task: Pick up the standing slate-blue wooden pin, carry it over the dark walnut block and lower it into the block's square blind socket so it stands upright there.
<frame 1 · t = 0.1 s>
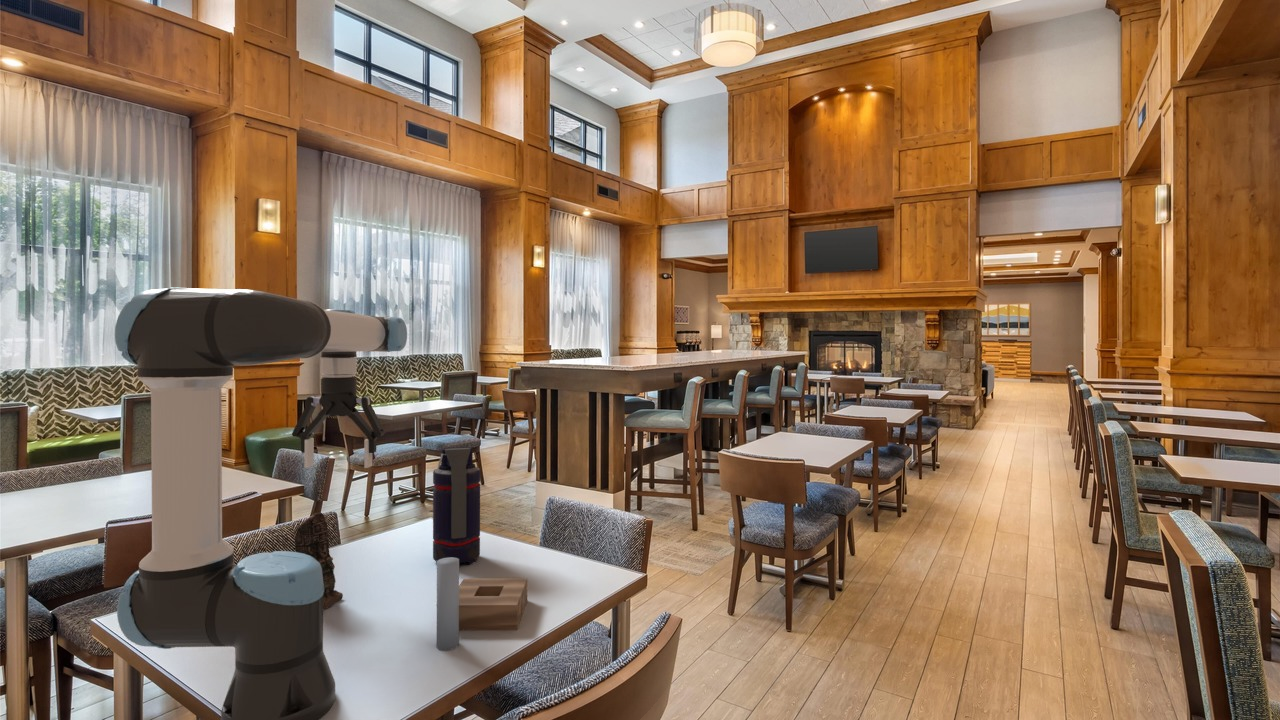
hand: (338, 467, 141), 28 cm above the table, fingers open, 13 cm apart
pin: (447, 645, 114), on the table
socket block: (488, 614, 127), on the table
grenade: (456, 562, 159), on the table
statue: (318, 604, 132), on the table
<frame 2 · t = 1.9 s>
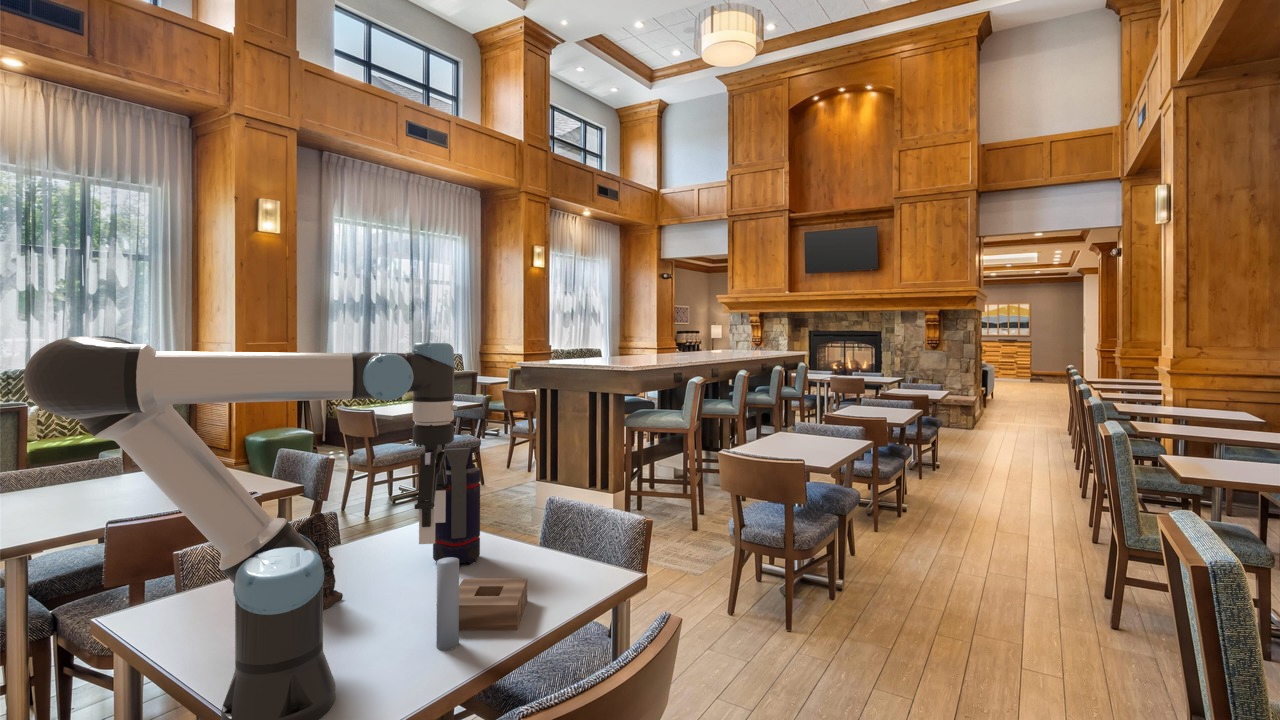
hand: (433, 532, 117), 20 cm above the table, fingers open, 13 cm apart
nothing on the table moved.
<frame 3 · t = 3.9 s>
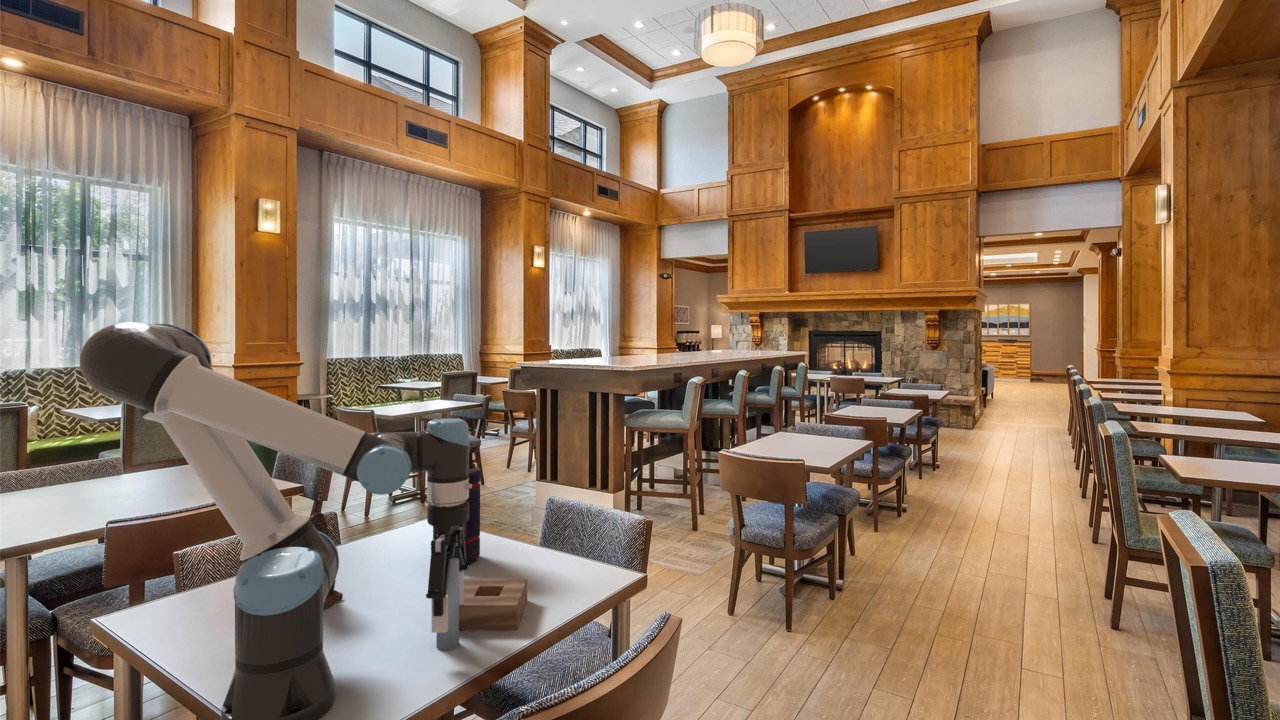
hand: (448, 617, 114), 5 cm above the table, fingers open, 11 cm apart
nothing on the table moved.
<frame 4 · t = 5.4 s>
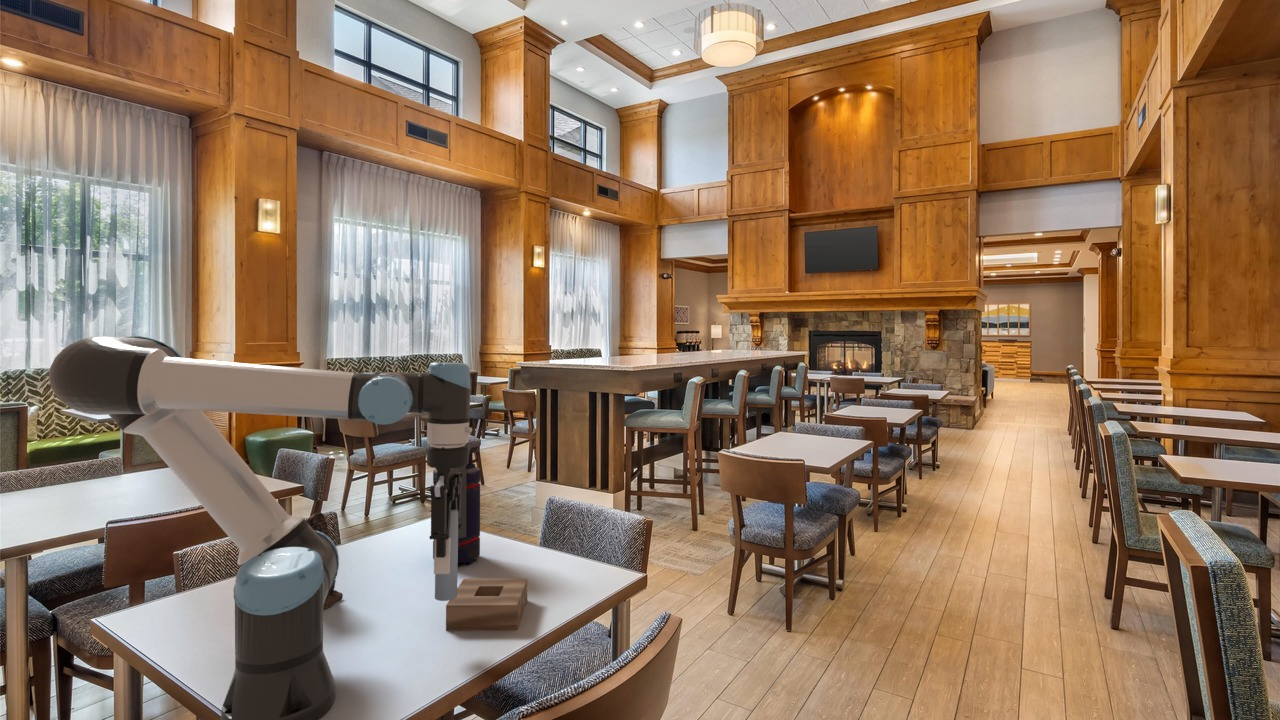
hand: (445, 568, 114), 15 cm above the table, fingers closed on pin, 4 cm apart
pin: (445, 596, 114), point 9 cm above the table, touching gripper
everything else where it was.
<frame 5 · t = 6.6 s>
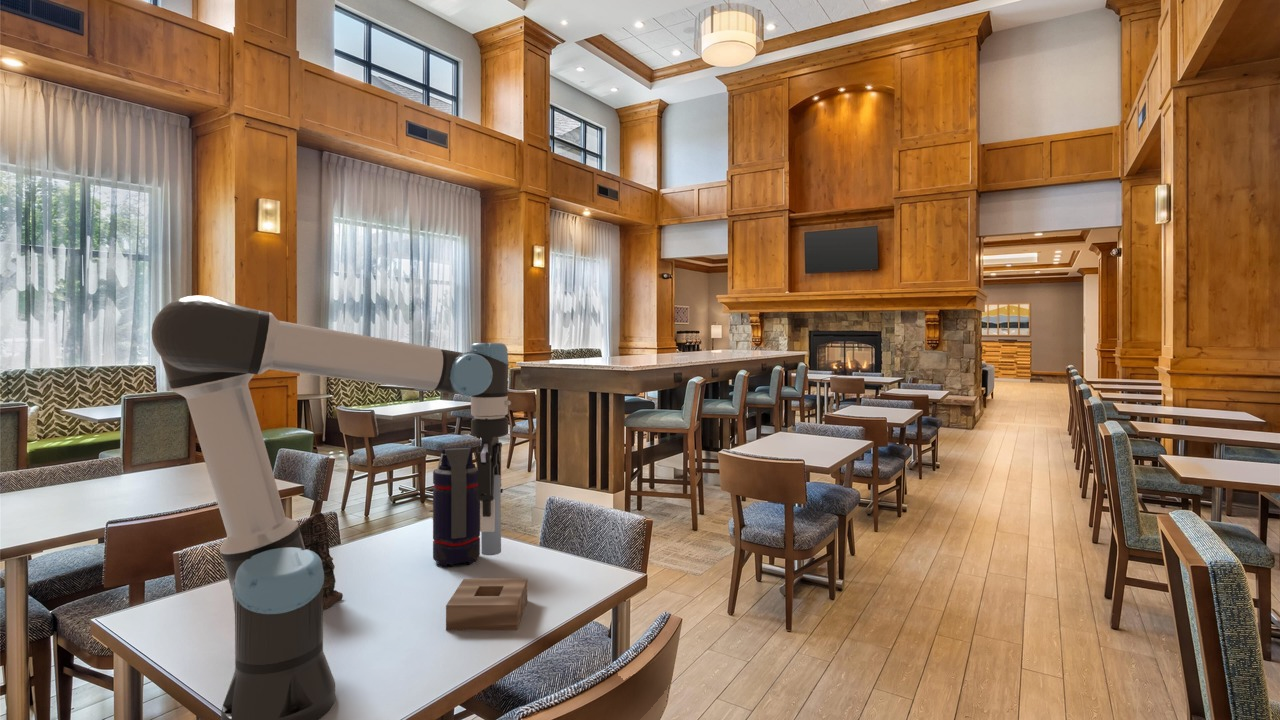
hand: (490, 527, 127), 18 cm above the table, fingers closed on pin, 4 cm apart
pin: (491, 552, 127), point 13 cm above the table, touching gripper
everything else where it was.
when the fingers open (7 cm above the table, at t = 8.4 s): pin stays where it is, resting on socket block.
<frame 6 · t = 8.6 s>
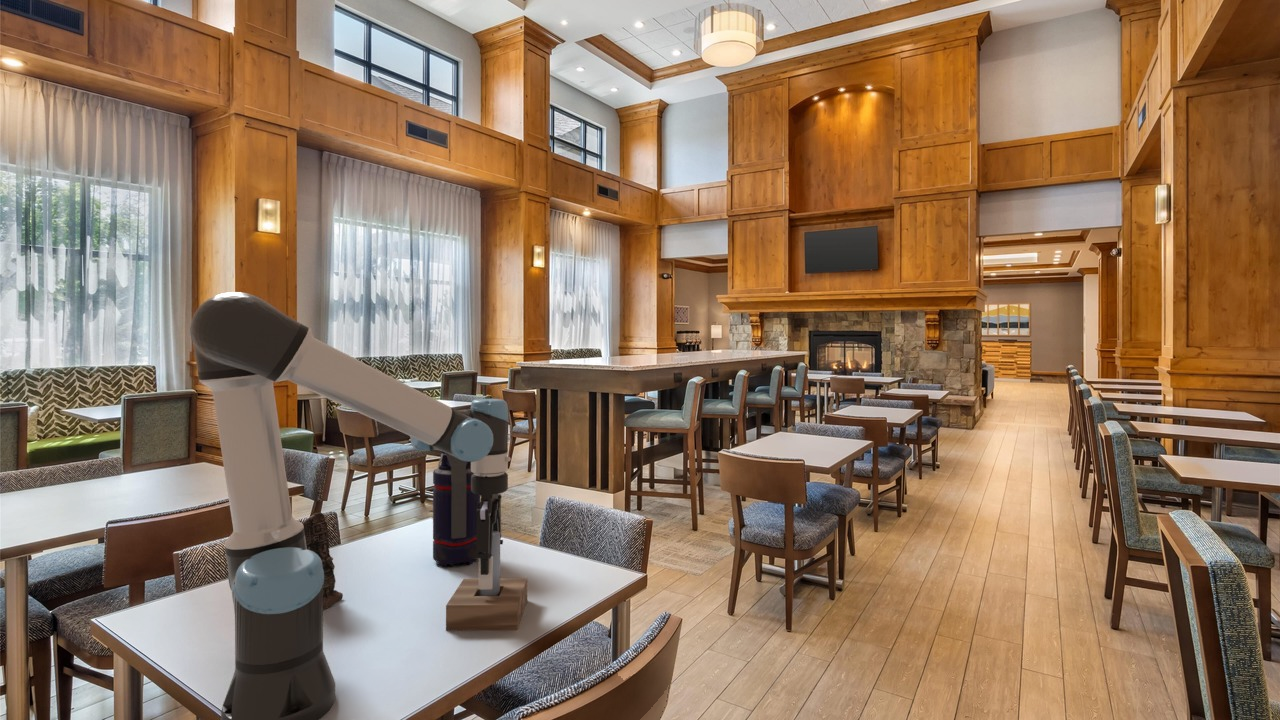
hand: (489, 581, 127), 7 cm above the table, fingers open, 6 cm apart
pin: (490, 609, 127), point 1 cm above the table, touching socket block
everything else where it was.
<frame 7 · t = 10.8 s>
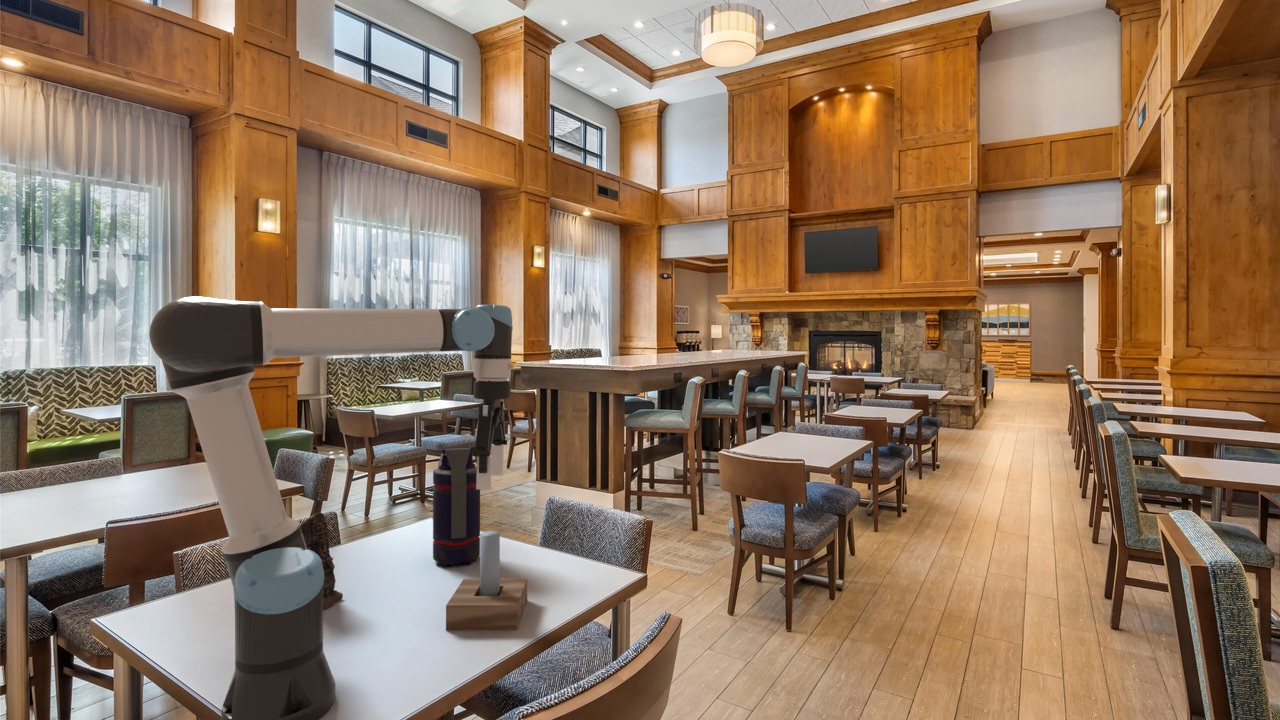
hand: (490, 481, 126), 28 cm above the table, fingers open, 13 cm apart
nothing on the table moved.
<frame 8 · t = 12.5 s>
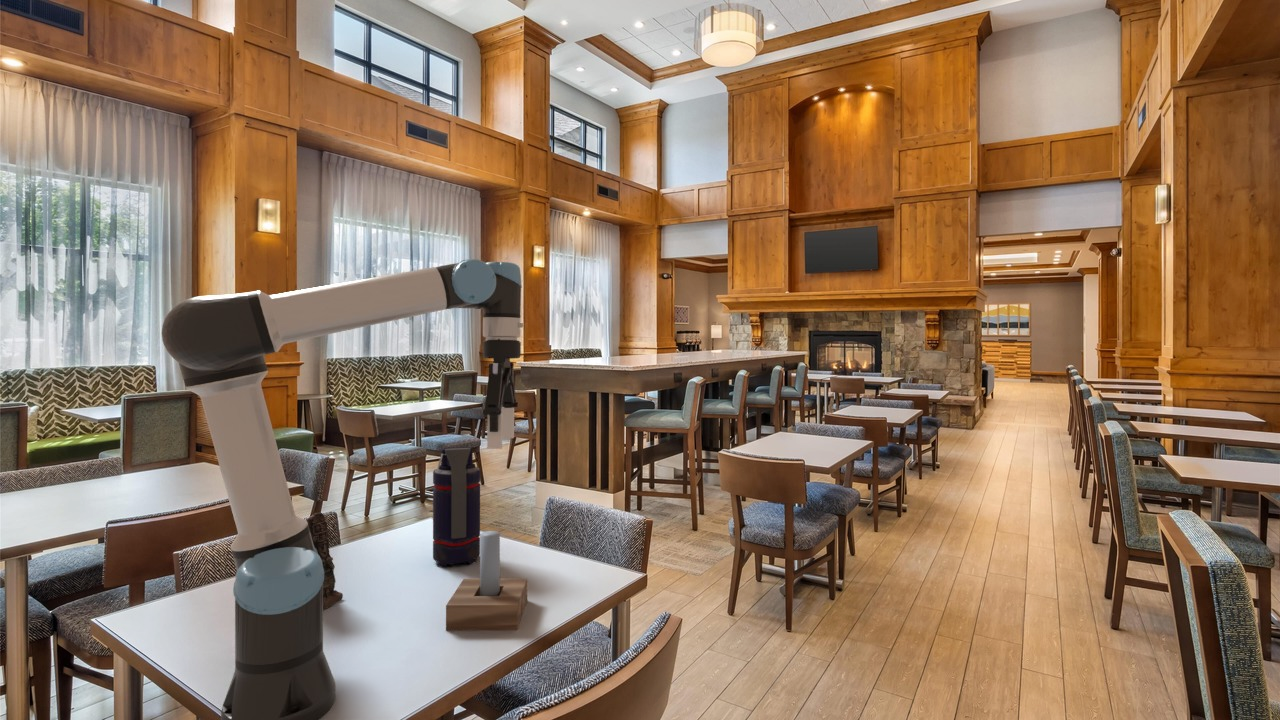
hand: (501, 443, 124), 37 cm above the table, fingers open, 13 cm apart
nothing on the table moved.
at the end: pin 0.2 cm off-centre on the socket block, point 1.1 cm above the socket block's base; pin tilted 1°; the gripper is holding nothing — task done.
